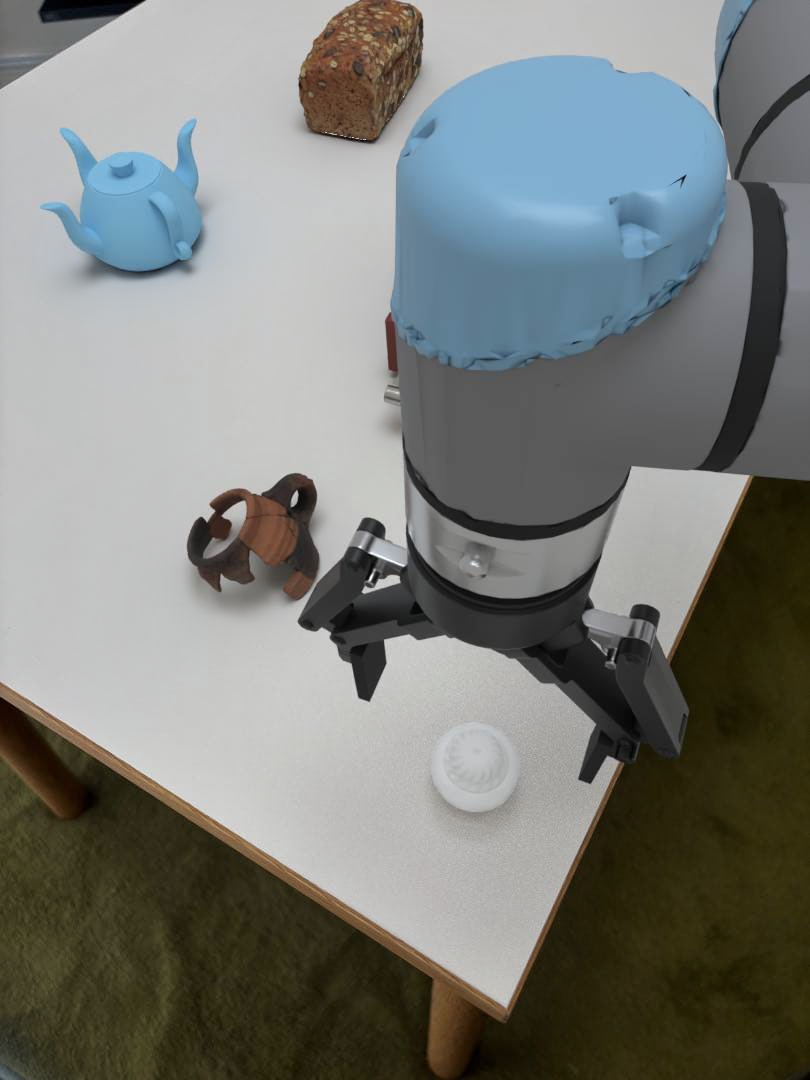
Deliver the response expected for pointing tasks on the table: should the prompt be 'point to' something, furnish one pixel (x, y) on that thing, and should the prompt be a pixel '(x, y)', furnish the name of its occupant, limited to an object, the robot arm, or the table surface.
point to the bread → (361, 67)
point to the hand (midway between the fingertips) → (478, 719)
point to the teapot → (134, 206)
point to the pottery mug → (260, 535)
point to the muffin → (475, 767)
